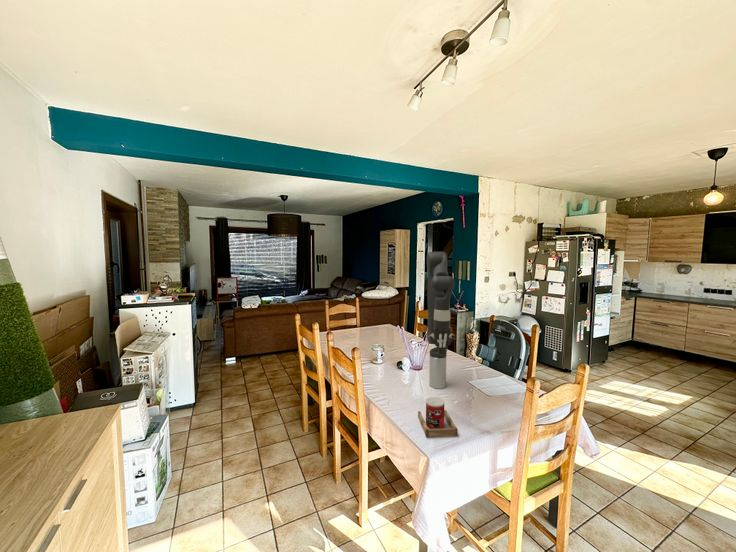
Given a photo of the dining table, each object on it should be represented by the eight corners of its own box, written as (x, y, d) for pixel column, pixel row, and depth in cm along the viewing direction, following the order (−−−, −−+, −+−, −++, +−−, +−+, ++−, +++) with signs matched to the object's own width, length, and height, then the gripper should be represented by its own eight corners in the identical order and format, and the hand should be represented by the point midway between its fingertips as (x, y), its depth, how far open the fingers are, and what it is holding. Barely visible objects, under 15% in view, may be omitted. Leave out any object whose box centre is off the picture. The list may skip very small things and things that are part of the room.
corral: (418, 417, 140) (418, 411, 140) (445, 416, 141) (445, 410, 141) (426, 437, 125) (426, 430, 125) (457, 436, 126) (457, 429, 126)
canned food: (422, 425, 134) (422, 401, 133) (432, 418, 140) (432, 395, 139) (437, 432, 129) (437, 407, 128) (447, 424, 134) (447, 400, 133)
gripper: (453, 316, 148) (452, 351, 149) (426, 317, 147) (425, 352, 148) (458, 320, 140) (457, 356, 142) (430, 320, 139) (429, 357, 141)
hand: (441, 354), depth 145 cm, fingers closed
